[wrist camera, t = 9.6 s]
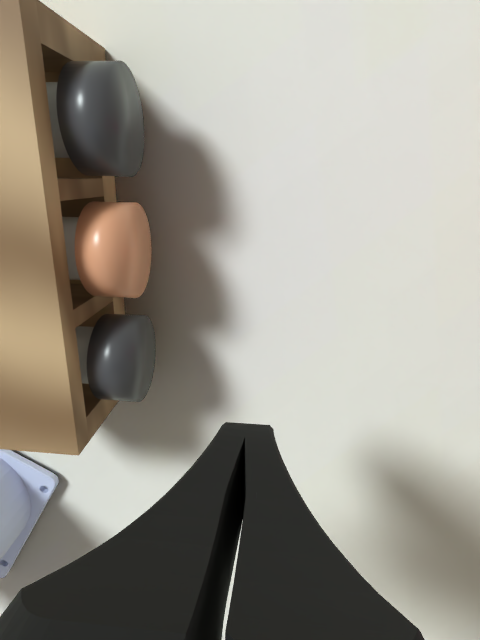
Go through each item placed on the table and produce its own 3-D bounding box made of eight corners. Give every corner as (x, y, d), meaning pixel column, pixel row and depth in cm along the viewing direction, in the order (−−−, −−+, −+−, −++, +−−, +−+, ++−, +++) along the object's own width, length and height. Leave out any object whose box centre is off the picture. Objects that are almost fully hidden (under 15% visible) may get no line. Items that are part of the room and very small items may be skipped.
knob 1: (146, 176, 17) (111, 176, 13) (1, 173, 17) (-68, 172, 14) (141, 75, 15) (101, 46, 12) (-15, 75, 16) (-95, 48, 13)
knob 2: (157, 377, 20) (131, 418, 16) (32, 369, 20) (-18, 408, 17) (153, 304, 18) (124, 333, 15) (21, 298, 19) (-36, 325, 16)
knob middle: (153, 285, 18) (124, 309, 15) (19, 279, 19) (-40, 302, 15) (149, 199, 17) (115, 205, 14) (5, 196, 17) (-61, 201, 14)
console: (130, 384, 21) (78, 455, 16) (47, 379, 22) (-31, 446, 16) (104, 48, 16) (16, -16, 11) (-2, 49, 17) (-138, -13, 11)
